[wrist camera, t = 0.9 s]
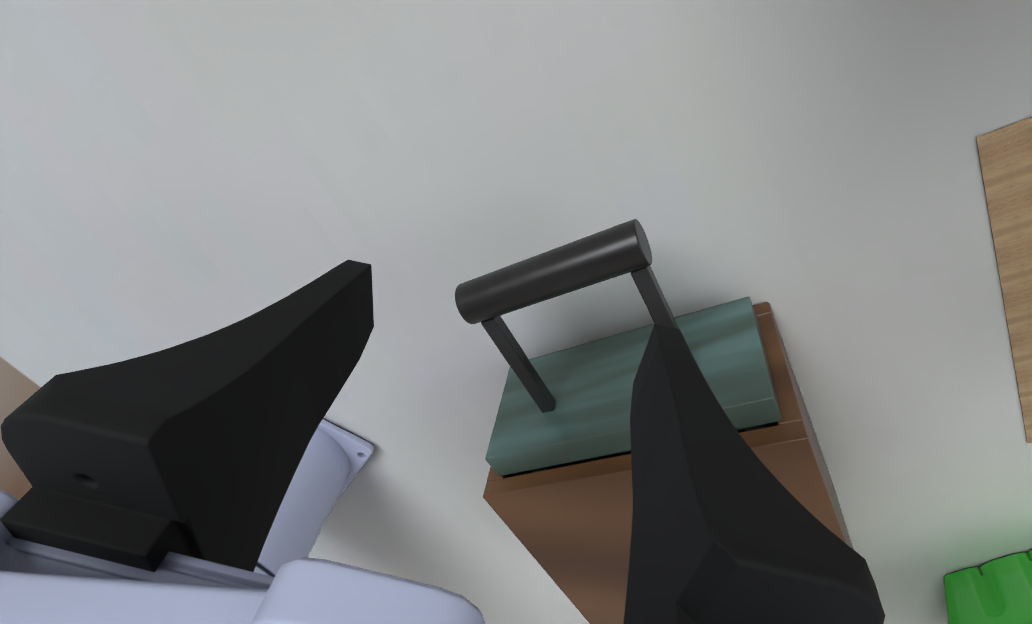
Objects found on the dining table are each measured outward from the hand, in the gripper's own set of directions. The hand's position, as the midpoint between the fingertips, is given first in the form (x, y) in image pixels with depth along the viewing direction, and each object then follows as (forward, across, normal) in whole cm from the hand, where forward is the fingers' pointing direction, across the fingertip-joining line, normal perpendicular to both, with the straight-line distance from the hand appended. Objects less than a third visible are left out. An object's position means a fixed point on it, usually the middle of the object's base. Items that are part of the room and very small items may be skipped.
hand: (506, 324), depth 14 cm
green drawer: (+9, -6, +9) cm, 14 cm away
